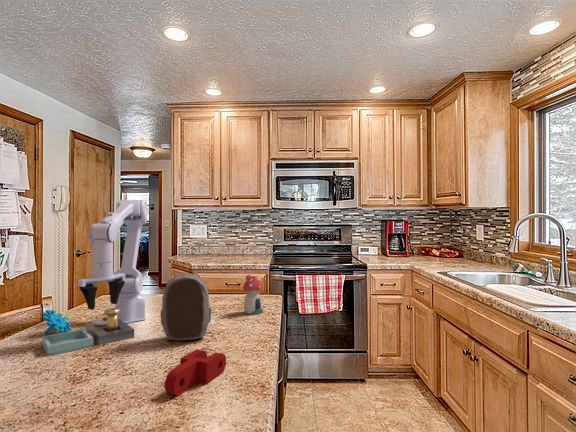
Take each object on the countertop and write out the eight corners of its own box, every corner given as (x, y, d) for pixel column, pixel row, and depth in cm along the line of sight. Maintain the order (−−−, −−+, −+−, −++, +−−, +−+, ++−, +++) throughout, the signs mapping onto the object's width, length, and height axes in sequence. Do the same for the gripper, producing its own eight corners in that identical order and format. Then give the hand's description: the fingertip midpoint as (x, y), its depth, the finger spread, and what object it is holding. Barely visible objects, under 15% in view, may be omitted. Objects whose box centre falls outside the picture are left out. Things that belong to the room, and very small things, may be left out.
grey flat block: (118, 325, 125) (118, 312, 125) (134, 337, 112) (134, 323, 112) (85, 331, 118) (85, 318, 118) (98, 344, 106) (98, 330, 106)
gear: (61, 333, 112) (39, 309, 112) (46, 347, 111) (24, 324, 112) (80, 327, 123) (60, 306, 123) (66, 340, 122) (46, 319, 122)
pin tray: (84, 337, 113) (84, 329, 113) (93, 346, 104) (93, 337, 104) (41, 345, 106) (41, 336, 106) (47, 356, 97) (47, 346, 97)
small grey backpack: (158, 344, 106) (158, 275, 107) (163, 335, 115) (163, 271, 115) (211, 341, 109) (211, 273, 109) (212, 332, 117) (212, 270, 117)
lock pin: (117, 333, 116) (117, 307, 116) (121, 337, 113) (121, 309, 113) (102, 336, 113) (102, 309, 113) (106, 340, 110) (106, 312, 110)
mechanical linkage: (201, 366, 91) (201, 346, 91) (226, 371, 88) (226, 350, 88) (155, 396, 76) (155, 371, 76) (183, 402, 73) (183, 377, 73)
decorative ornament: (248, 316, 136) (248, 276, 136) (238, 313, 140) (238, 274, 141) (267, 312, 142) (267, 273, 142) (257, 309, 147) (256, 271, 147)
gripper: (115, 259, 121) (115, 300, 121) (71, 264, 108) (71, 310, 108) (129, 260, 118) (129, 302, 118) (86, 265, 105) (86, 312, 105)
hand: (102, 306), depth 113 cm, fingers open, 7 cm apart
